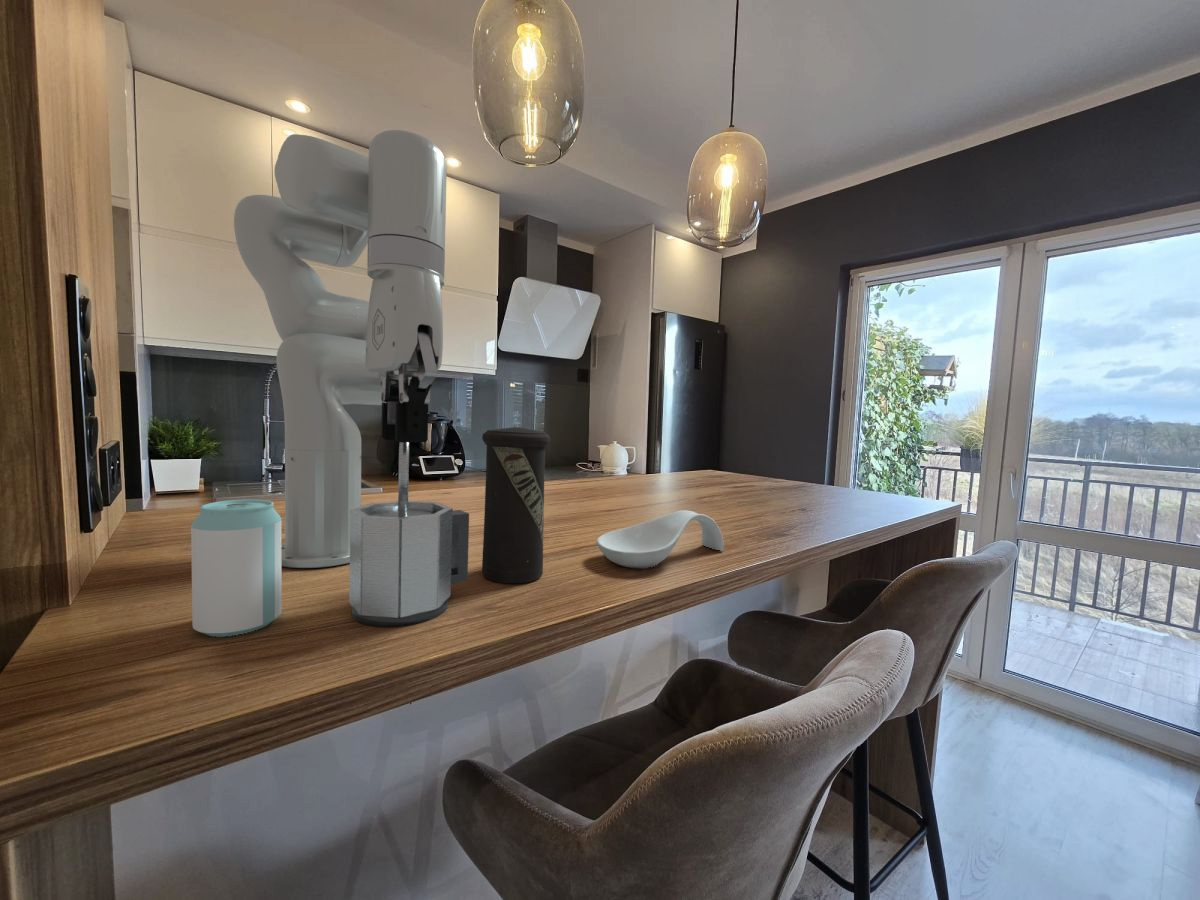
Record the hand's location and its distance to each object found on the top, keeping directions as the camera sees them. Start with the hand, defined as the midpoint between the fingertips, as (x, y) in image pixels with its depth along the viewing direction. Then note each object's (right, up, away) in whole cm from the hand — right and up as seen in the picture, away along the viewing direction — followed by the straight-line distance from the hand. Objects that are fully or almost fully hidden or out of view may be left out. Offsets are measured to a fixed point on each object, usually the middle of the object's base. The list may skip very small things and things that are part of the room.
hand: (404, 439), depth 53 cm
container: (+9, -18, +14) cm, 25 cm away
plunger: (0, -9, +1) cm, 9 cm away
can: (-15, -19, -4) cm, 24 cm away
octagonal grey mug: (0, -19, +2) cm, 19 cm away
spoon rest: (+31, -19, +26) cm, 45 cm away
